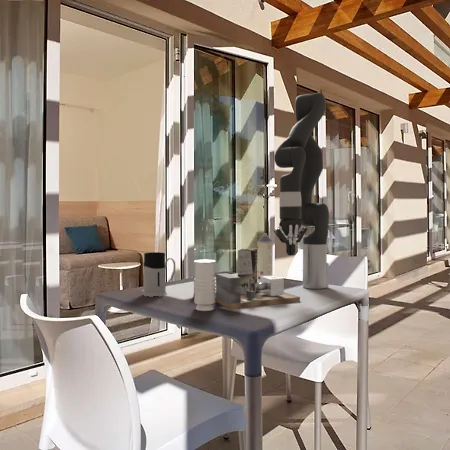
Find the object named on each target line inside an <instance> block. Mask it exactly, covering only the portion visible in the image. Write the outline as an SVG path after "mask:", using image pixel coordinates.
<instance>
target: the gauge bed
mask: <svg viewBox="0 0 450 450" xmlns="http://www.w3.org/2000/svg"><path fill="white" fill-rule="evenodd" d="M215 278H216V280H215V282H216V284H215V286H216V288H215V289H216V291H215V301H216V302H215V303H217V304H219V305H221V306H223V307H226V308H227V309H229V310H233V309H242V308H243V309H244V308H252V307H253V308H254V307H260V306H271V305H278V304H279V305H280V304H288V303H297V302H301V296H297V295H295V294H291V293H288V292H284V295H277V296H269V295H266V294H263V293H260V292H256V293H255V294H254V299H249V298H246V294H241V277H238V275H235V274H231V273H224V272H223V273H215Z"/></svg>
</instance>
